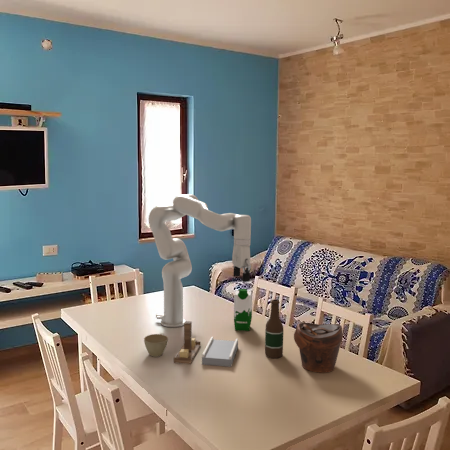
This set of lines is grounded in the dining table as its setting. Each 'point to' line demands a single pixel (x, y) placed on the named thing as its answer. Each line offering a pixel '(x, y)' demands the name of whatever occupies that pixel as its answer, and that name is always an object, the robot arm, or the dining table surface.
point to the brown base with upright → (188, 345)
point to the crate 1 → (184, 353)
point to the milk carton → (242, 310)
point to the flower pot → (156, 344)
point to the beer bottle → (274, 333)
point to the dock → (220, 352)
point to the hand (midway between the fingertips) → (241, 278)
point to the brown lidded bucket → (318, 345)
